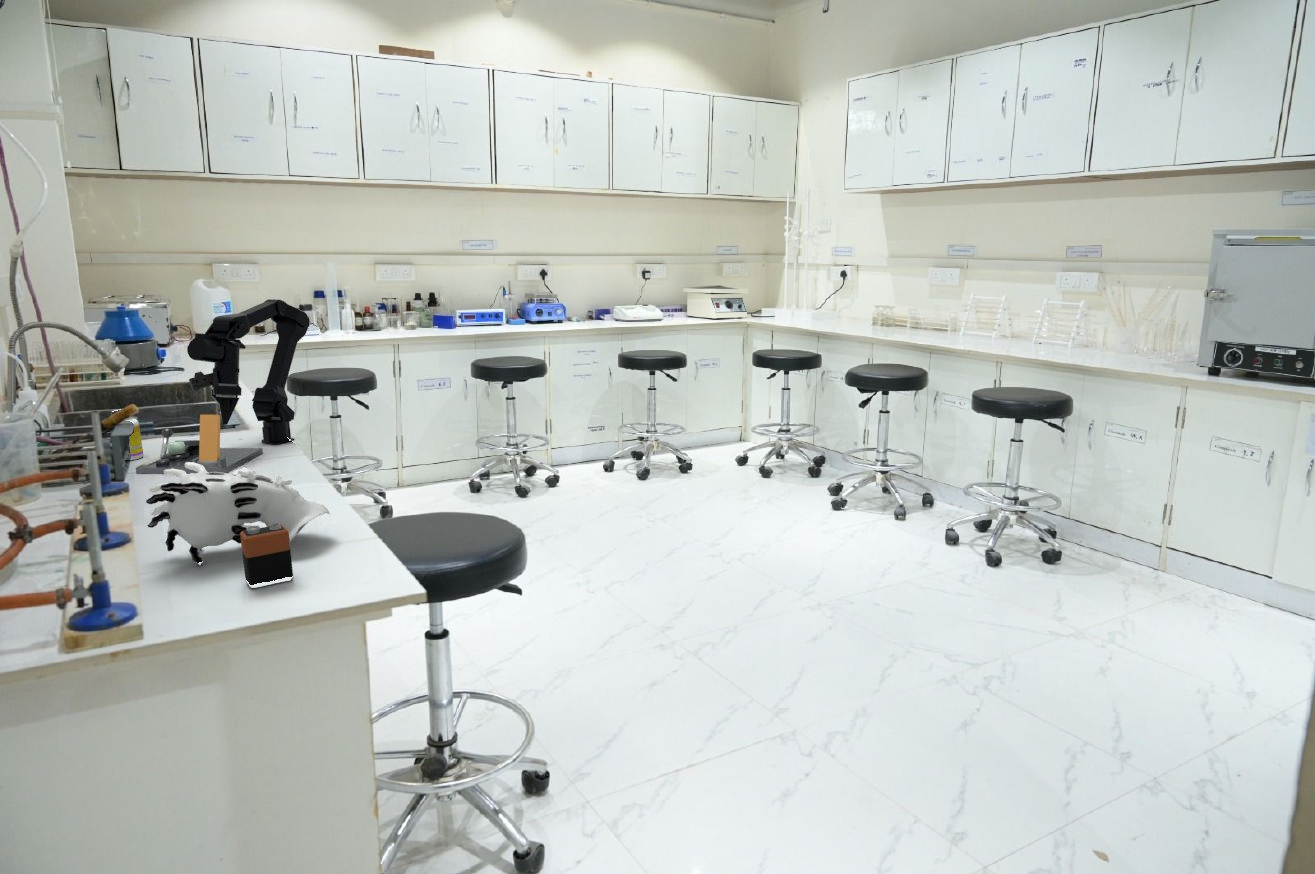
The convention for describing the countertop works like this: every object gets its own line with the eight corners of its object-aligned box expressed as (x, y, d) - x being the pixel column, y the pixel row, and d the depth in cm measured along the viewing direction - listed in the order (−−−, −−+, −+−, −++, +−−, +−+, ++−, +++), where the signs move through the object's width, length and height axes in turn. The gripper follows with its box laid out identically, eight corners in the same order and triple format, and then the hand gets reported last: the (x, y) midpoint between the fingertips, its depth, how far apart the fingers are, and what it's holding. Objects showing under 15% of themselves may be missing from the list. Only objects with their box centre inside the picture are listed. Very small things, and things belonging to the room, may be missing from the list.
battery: (245, 582, 141) (238, 526, 139) (287, 573, 145) (282, 518, 143) (250, 590, 138) (244, 533, 135) (294, 581, 142) (288, 525, 139)
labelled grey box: (189, 444, 224) (189, 439, 224) (204, 444, 224) (204, 439, 224) (174, 445, 217) (174, 440, 217) (190, 445, 217) (190, 440, 217)
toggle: (160, 459, 209) (165, 429, 212) (170, 459, 209) (175, 429, 212) (154, 457, 207) (160, 427, 209) (164, 457, 207) (170, 427, 209)
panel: (182, 452, 225) (180, 439, 225) (263, 453, 225) (262, 440, 225) (134, 474, 205) (132, 459, 204) (224, 474, 205) (222, 460, 204)
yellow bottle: (149, 455, 223) (143, 408, 220) (132, 462, 216) (125, 413, 213) (126, 454, 223) (119, 407, 220) (108, 461, 217) (100, 412, 214)
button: (173, 450, 216) (172, 441, 215) (188, 450, 216) (187, 441, 215) (165, 454, 212) (164, 444, 212) (180, 454, 212) (179, 444, 212)
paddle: (200, 466, 206) (201, 414, 207) (221, 466, 206) (222, 414, 207) (196, 466, 205) (197, 414, 205) (218, 466, 205) (219, 414, 205)
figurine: (332, 567, 155) (142, 576, 141) (322, 540, 169) (149, 545, 155) (337, 480, 152) (144, 479, 138) (327, 459, 166) (151, 457, 152)
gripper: (190, 364, 222) (189, 423, 221) (191, 359, 205) (190, 422, 205) (237, 367, 227) (236, 425, 227) (242, 362, 211) (240, 424, 211)
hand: (225, 424), depth 217 cm, fingers closed
